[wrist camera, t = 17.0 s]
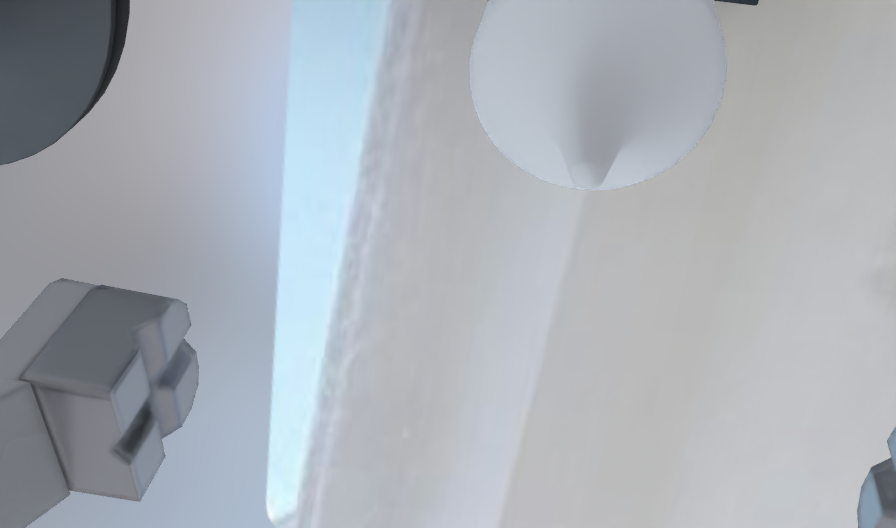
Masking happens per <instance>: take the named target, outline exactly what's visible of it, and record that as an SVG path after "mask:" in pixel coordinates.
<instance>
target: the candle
mask: <svg viewBox="0 0 896 528" xmlns="http://www.w3.org/2000/svg"><path fill="white" fill-rule="evenodd" d="M726 71H727V57H726V49H725V43H724V39H723V35H722V31H721V26H720V22H719V18H718V14H717V10H716V6H715V2H714V0H488V2H487V5H486V8H485V11H484V13H483V16H482V19H481V21H480V24H479V27H478V29H477V32H476V35H475V38H474V41H473V46H472V50H471V56H470V65H469V78H470V88H471V94H472V98H473V103H474V106H475V110H476V113H477V115H478V117H479V120H480V122H481V124H482V126H483V128H484V130H485V131H486V133H487V135H488V136H489V138H490V139H491V140H492V142H493V143H494V144H495V145H496V147H497V148H498V149H499V150H500V151H501V152H502V153H503V154H504V155H505V156H506V157H507V158H508V159H509V160H510V161H512V162H513V163H514V164H515V165H517V166H518V167H520V168H521V169H523V170H524V171H526V172H528V173H529V174H531V175H533V176H535V177H537V178H539V179H542V180H544V181H547V182H549V183H552V184H555V185H559V186H563V187H568V188H574V189H582V190H606V189H615V188H620V187H625V186H629V185H633V184H636V183H639V182H642V181H645V180H647V179H649V178H652V177H654V176H656V175H658V174H660V173H661V172H663V171H665V170H667V169H668V168H670V167H671V166H673V165H674V164H676V163H677V162H678V161H679V160H681V159H682V158H683V157H684V156H685V155H687V154H688V153H689V152H690V151H691V150H692V149H693V148H694V146H695V145H696V144H697V143H698V142H699V141H700V139H701V138H702V137H703V135H704V134H705V132H706V131H707V129H708V128H709V126H710V124H711V122H712V121H713V119H714V117H715V114H716V112H717V110H718V107H719V104H720V101H721V98H722V95H723V91H724V86H725V81H726Z"/></svg>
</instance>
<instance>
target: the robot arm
mask: <svg viewBox="0 0 896 528" xmlns="http://www.w3.org/2000/svg"><path fill="white" fill-rule="evenodd" d="M190 326H191V321H190V316H189V312H188V308H187V304H186V303H184V302H182V301H180V300H178V299H173V298H168V297H163V296H157V295H152V294H147V293H141V292H136V291H131V290H126V289H120V288H115V287H110V286H105V285H94V284H89V283H84V282H79V281H74V280H68V279H64V278H62V279H59V280H57V281H54V282H52V283H50V284H49V285H48V286H47V287H46V288H45V289H44V290H43V291H42V293H41V294H40V295H39V296H38V297H37V298H36V299H35V301H34V302H33V303H32V304H31V305H30V306H29V307H28V308H27V310H26V311H25V312H24V313H23V314H22V316H21V317H20V318H19V319H18V320H17V321H16V322H15V323H14V325H13V326H12V327H11V328H10V329H9V330H8V331H7V333H6V334H5V335H4V336H3V337H2V338H1V339H0V528H25V527H27V526H28V525H29V524H31V523H32V522H33V521H35V520H36V519H37V518H39V517H40V516H42V515H43V514H44V513H46V512H47V511H48V510H50V509H51V508H53V507H54V506H55V505H57V504H58V503H59V502H61V501H62V500H64V499H65V498H66V497H68V496H69V495H70V492H69V490H70V491H76V492H83V493H89V494H95V495H101V496H107V497H113V498H120V499H126V500H132V501H138V502H139V501H141V499H142V497H143V495H144V494H145V492H146V490H147V488H148V487H149V485H150V483H151V481H152V479H153V478H154V476H155V474H156V472H157V470H158V469H159V467H160V465H161V463H162V462H163V460H164V458H165V452H164V448H163V443H162V438H164V437H166V436H167V435H169V434H171V433H172V432H174V431H176V430H177V429H179V428H181V427H182V425H183V423H184V421H185V419H186V418H187V416H188V414H189V412H190V410H191V408H192V405H193V401H194V398H195V393H196V390H197V386H198V373H199V365H198V359H197V353H196V351H195V350H194V349H193V348H192V347H191V346H190V345H189V344H188V343H187V342H186V340H185V339H184V336H185V335H186V333H187V331H188V330H189V328H190ZM887 443H888V447H889V450H890V454H891V458H889V459H887V460H885V461H883V462H881V463H879V464H877V465H875V466H873V467H871V469H870V471H869V473H868V475H867V477H866V479H865V481H864V483H863V485H862V487H861V492H860V498H859V503H858V509H857V514H858V528H896V427H895V428H894V430H893V432H892V433H891V435H890V437H889V438H888V440H887Z"/></svg>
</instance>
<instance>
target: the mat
mask: <svg viewBox="0 0 896 528" xmlns="http://www.w3.org/2000/svg"><path fill="white" fill-rule="evenodd" d="M714 1H723V2H731V3H739V4H748V5H757V4H758V1H759V0H714Z"/></svg>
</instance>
